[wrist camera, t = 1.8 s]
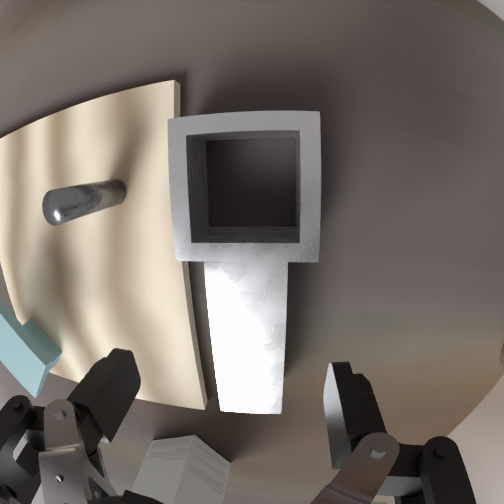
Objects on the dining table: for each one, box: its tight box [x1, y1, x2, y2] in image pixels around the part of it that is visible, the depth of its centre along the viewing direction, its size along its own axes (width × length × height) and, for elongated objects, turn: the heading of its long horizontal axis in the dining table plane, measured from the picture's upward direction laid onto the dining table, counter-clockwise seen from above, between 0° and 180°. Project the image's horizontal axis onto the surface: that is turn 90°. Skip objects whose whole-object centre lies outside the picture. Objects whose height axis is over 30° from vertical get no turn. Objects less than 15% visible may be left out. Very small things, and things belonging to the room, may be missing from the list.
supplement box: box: [131, 435, 230, 504], centre depth 21 cm, size 7×7×13 cm
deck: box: [0, 80, 208, 410], centre depth 20 cm, size 22×26×1 cm
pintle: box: [42, 179, 127, 226], centre depth 15 cm, size 2×2×8 cm
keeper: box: [0, 297, 62, 398], centre depth 19 cm, size 9×7×7 cm
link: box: [167, 111, 321, 414], centre depth 17 cm, size 19×8×4 cm, turn 1°
